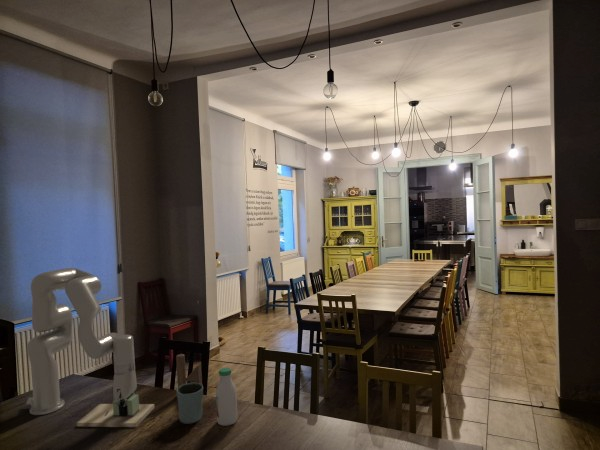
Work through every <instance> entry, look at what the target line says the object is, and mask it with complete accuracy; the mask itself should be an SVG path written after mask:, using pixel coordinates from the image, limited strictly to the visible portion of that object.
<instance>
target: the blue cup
mask: <svg viewBox="0 0 600 450" xmlns="http://www.w3.org/2000/svg"><path fill="white" fill-rule="evenodd" d="M176 389H177V392H176V398H177V405H178V406H177V407H178V417H179V421H180V423H182V424H185V425H186V424H195V423H197V422H199V421H201V419H202V418H203V403H204V402H203V398H204V397H203V396H204V386H203V383H202V384H200V383H191V382H186V384H183V385H181V386H179V387H178V386H177V388H176Z"/></svg>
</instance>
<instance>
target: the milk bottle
mask: <svg viewBox="0 0 600 450" xmlns="http://www.w3.org/2000/svg"><path fill="white" fill-rule="evenodd" d="M218 377H219V380H218V383H217V386H216V392H215V404H216V405H215V406H216V421H217V424H218V425H220V426H225V427H226V426H227V427H228V426H231V425H234V424H235V423H237V421H238V415H239V414H238V399H237V388H236V385H235V383H234V381H233V379H232V368H230V367H221V368H220V369H219V370H218Z"/></svg>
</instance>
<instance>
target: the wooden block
mask: <svg viewBox="0 0 600 450" xmlns="http://www.w3.org/2000/svg"><path fill="white" fill-rule="evenodd" d="M185 355H186V354H184V353H180V354H177V355H176V357H175V360H176V376H177V379H176V380H177V388H178V387H179V386H181V385H183V384H187V382H190V383H200V384H202V385H203V375H202V374H203V373H202V362H200V363H199V364H198V365H197V366H196V367H195V368H194V369H193V370H192V371H191V372H190V374H189V375H188V376H187V375H186V374H187V373H186V360H185V359H186V356H185ZM177 388H176V393H177Z"/></svg>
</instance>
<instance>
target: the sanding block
mask: <svg viewBox="0 0 600 450" xmlns="http://www.w3.org/2000/svg"><path fill="white" fill-rule="evenodd" d="M121 398H123V396H121ZM139 399H140V398H139V394H135V395H130V396H128V397H127V400H126V405H127V411H128V415H127V416H119V407H118V405H117V404H115V399H114V398H113V399H112V404H113V414H114V417H133V416H134V415H135V414H136V413H137V412H138V411H139V404H140V400H139ZM121 401H122V402H124V400H121Z"/></svg>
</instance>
